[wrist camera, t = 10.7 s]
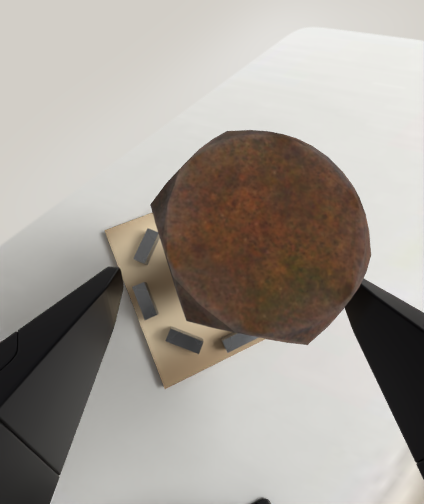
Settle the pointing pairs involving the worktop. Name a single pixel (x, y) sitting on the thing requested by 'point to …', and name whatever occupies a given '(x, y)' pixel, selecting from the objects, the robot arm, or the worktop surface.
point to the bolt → (262, 236)
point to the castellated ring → (150, 310)
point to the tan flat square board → (164, 306)
